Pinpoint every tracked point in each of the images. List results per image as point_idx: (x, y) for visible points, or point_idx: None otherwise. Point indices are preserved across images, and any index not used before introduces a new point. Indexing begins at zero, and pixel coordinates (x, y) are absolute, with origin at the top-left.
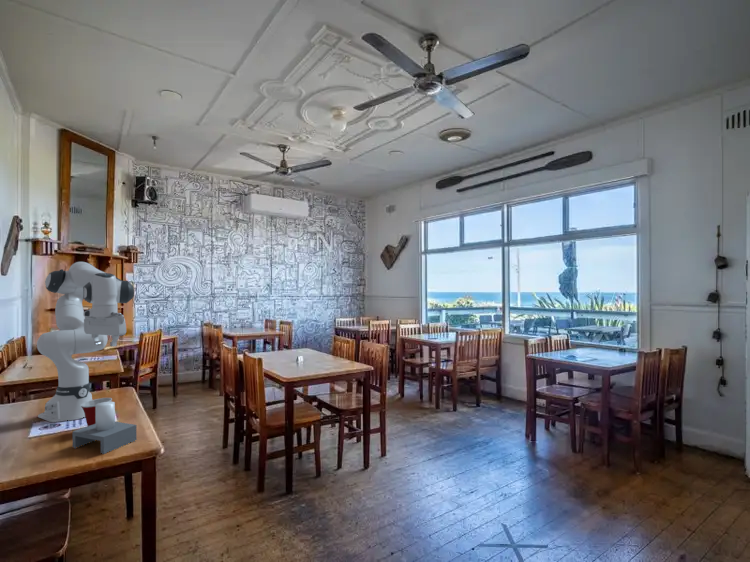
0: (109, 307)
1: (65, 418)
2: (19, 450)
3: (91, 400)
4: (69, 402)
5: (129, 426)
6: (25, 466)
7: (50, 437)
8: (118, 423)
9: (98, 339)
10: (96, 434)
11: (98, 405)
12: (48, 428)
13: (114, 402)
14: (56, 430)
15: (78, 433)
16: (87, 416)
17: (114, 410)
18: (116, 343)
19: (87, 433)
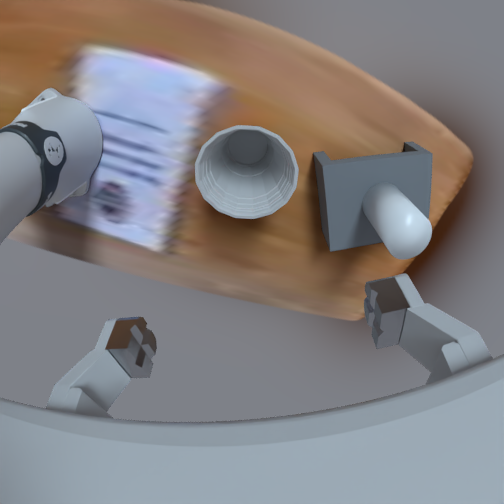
0: None
1: (91, 171)
2: (237, 284)
3: (198, 172)
4: (68, 177)
5: (426, 168)
6: (331, 299)
7: (202, 229)
8: (382, 167)
9: (99, 361)
10: None
11: (404, 254)
12: (125, 210)
13: (423, 216)
14: (156, 204)
15: (350, 246)
16: (255, 191)
17: (417, 208)
18: (414, 290)
19: (376, 240)
